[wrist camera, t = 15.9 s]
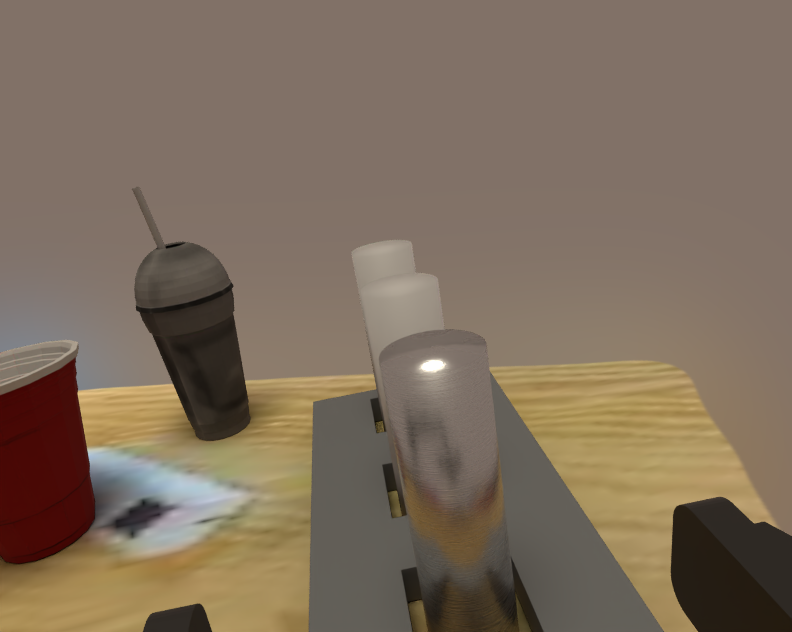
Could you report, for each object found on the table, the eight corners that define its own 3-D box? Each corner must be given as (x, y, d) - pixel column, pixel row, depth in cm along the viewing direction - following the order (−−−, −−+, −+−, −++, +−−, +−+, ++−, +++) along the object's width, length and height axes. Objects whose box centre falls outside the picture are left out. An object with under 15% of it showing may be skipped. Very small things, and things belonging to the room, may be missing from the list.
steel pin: (439, 686, 24) (384, 383, 20) (423, 610, 28) (374, 341, 23) (532, 664, 25) (500, 360, 20) (504, 592, 28) (471, 322, 24)
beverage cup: (279, 424, 47) (215, 174, 41) (189, 461, 44) (104, 197, 38) (251, 395, 54) (191, 173, 47) (170, 426, 50) (94, 192, 44)
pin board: (317, 763, 22) (223, 446, 17) (318, 424, 47) (279, 253, 42) (670, 679, 23) (671, 356, 18) (489, 389, 47) (470, 219, 43)
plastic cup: (115, 462, 46) (62, 320, 42) (154, 525, 38) (92, 355, 33) (-50, 534, 40) (-130, 377, 36) (-47, 628, 32) (-151, 437, 28)
